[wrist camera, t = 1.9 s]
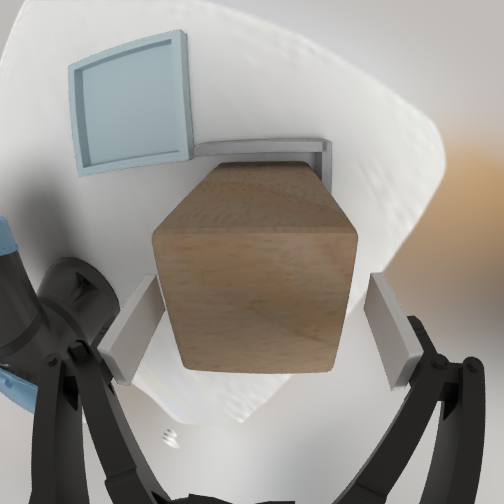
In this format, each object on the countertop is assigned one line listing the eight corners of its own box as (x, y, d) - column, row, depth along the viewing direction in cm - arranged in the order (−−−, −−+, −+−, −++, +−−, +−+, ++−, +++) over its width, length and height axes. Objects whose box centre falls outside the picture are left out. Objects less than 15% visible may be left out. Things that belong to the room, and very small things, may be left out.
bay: (215, 261, 36) (209, 278, 33) (202, 143, 29) (193, 147, 26) (320, 259, 35) (325, 276, 32) (324, 138, 28) (332, 142, 25)
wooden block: (218, 162, 30) (146, 233, 13) (307, 161, 30) (362, 231, 12) (224, 242, 35) (182, 371, 17) (305, 242, 34) (333, 374, 17)
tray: (89, 172, 31) (78, 177, 29) (79, 66, 25) (68, 65, 22) (195, 156, 30) (189, 160, 28) (186, 34, 23) (180, 29, 21)
